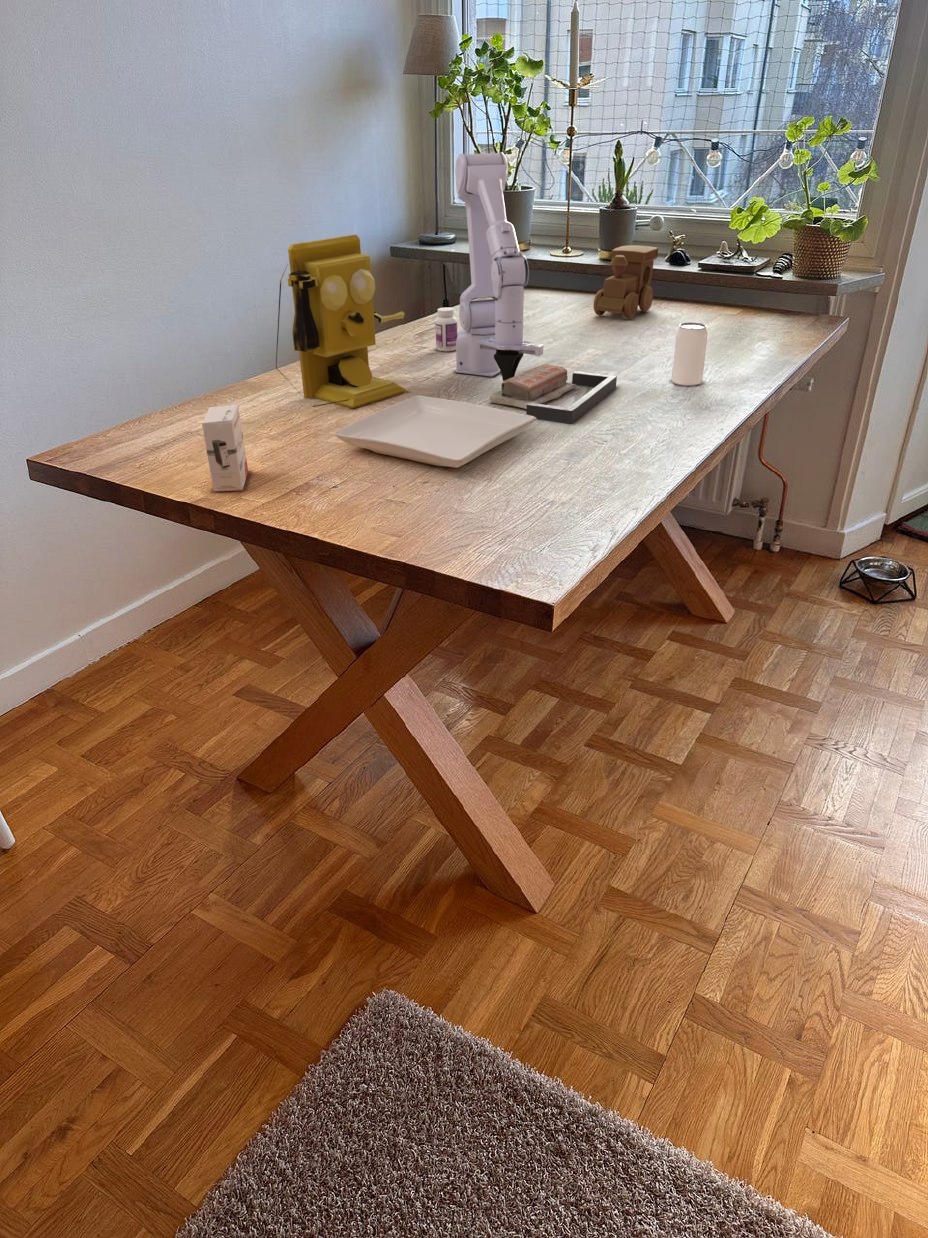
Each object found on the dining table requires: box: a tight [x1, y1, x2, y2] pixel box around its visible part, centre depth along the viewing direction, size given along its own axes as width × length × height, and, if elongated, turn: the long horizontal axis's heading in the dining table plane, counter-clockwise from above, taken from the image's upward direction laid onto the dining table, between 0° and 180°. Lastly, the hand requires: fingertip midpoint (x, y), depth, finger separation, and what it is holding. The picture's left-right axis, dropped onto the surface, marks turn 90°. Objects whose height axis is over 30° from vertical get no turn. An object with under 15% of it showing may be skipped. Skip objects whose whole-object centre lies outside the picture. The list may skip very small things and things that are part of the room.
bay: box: [525, 370, 618, 424], centre depth 182 cm, size 10×26×2 cm, turn 153°
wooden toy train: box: [593, 244, 659, 320], centre depth 248 cm, size 20×11×17 cm, turn 147°
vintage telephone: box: [275, 234, 407, 410], centre depth 181 cm, size 31×14×30 cm, turn 137°
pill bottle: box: [434, 306, 459, 352], centre depth 219 cm, size 5×5×10 cm
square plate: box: [332, 394, 537, 468], centre depth 162 cm, size 27×27×4 cm
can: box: [671, 321, 709, 387], centre depth 191 cm, size 6×6×12 cm
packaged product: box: [489, 363, 577, 410], centre depth 185 cm, size 18×5×10 cm
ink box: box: [201, 404, 249, 492], centre depth 146 cm, size 9×5×12 cm, turn 5°
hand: (508, 386), depth 188 cm, fingers closed
